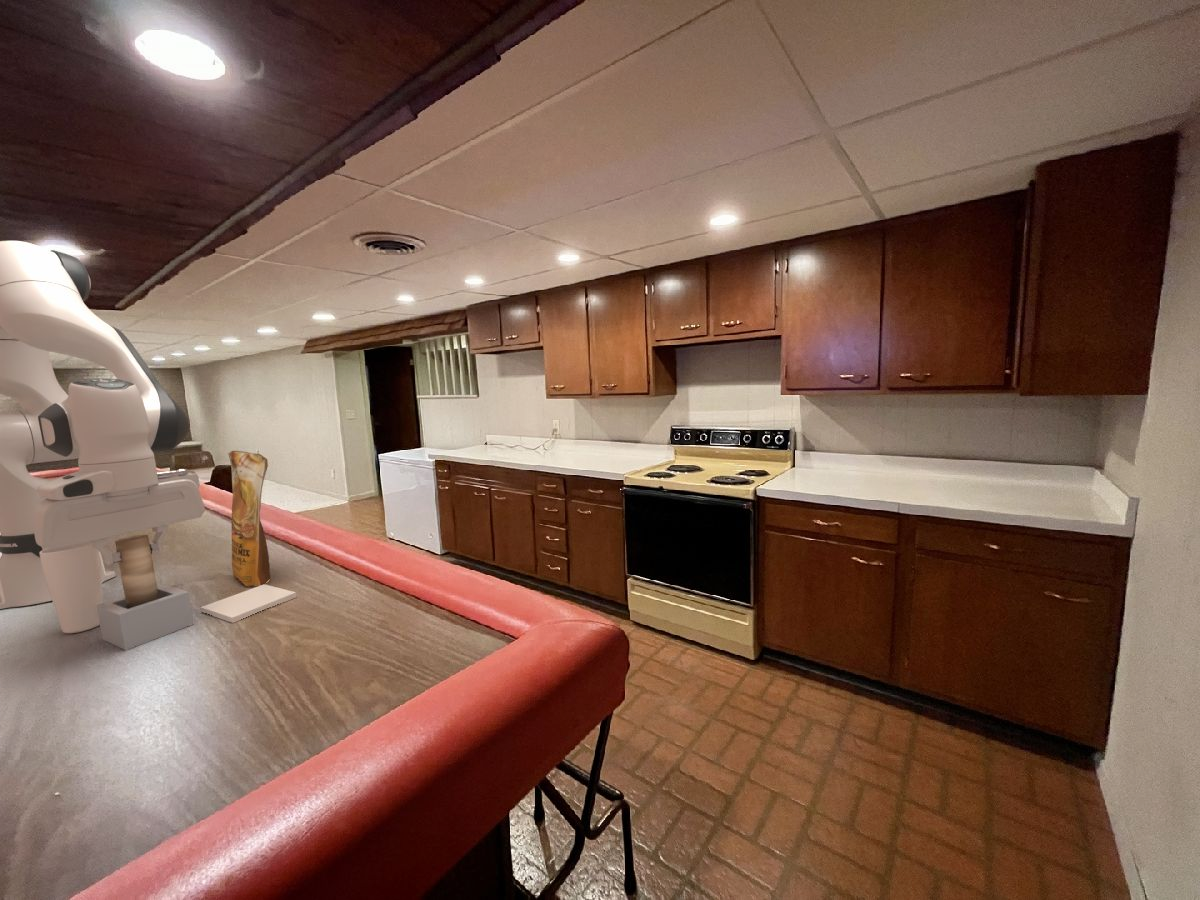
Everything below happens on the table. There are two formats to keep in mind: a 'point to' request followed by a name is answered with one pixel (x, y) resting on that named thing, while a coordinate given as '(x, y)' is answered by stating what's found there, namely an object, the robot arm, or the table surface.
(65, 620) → the drinking glass
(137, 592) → the birch pin
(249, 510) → the pancake mix bag
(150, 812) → the table surface
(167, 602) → the grey square frame
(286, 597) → the square mat
